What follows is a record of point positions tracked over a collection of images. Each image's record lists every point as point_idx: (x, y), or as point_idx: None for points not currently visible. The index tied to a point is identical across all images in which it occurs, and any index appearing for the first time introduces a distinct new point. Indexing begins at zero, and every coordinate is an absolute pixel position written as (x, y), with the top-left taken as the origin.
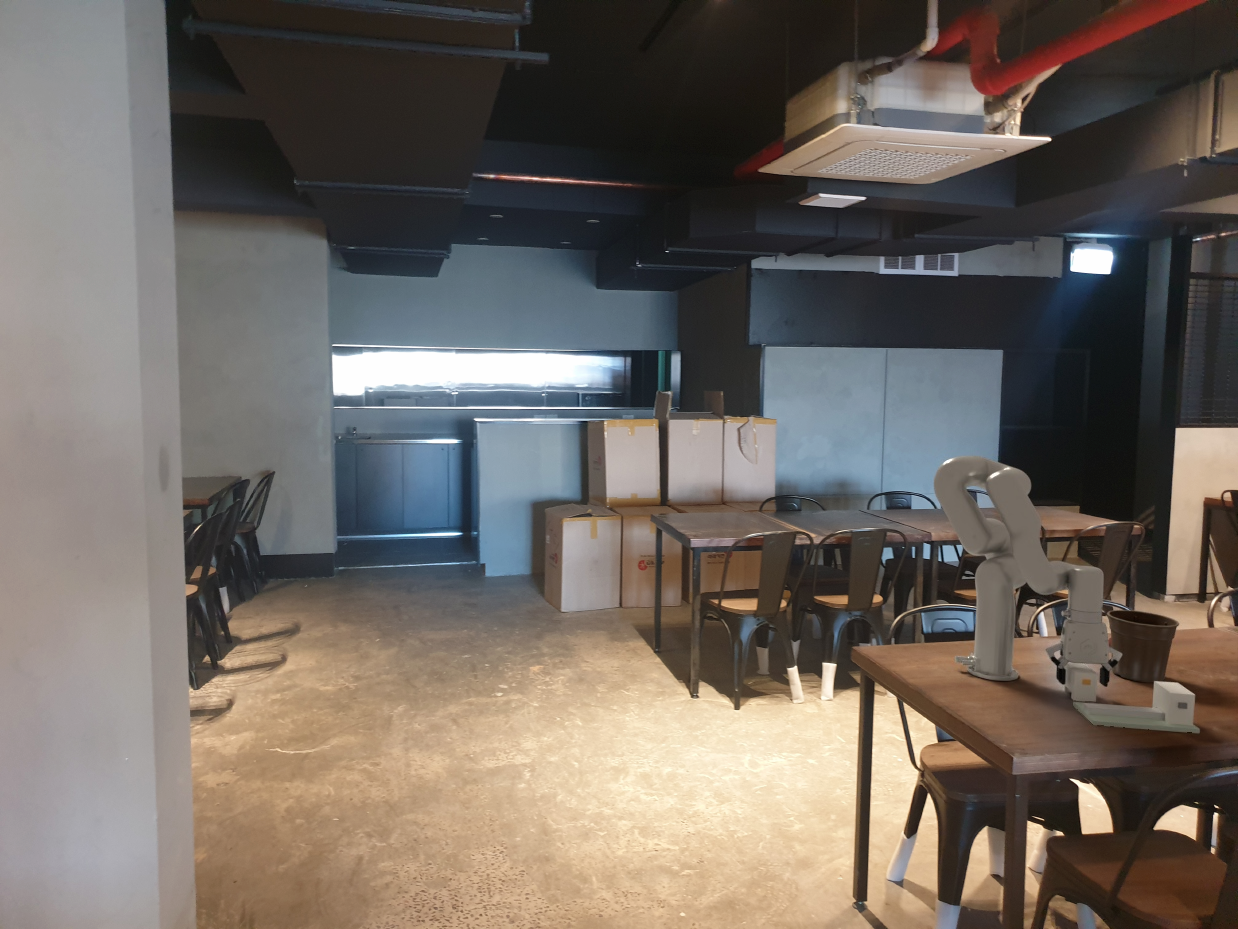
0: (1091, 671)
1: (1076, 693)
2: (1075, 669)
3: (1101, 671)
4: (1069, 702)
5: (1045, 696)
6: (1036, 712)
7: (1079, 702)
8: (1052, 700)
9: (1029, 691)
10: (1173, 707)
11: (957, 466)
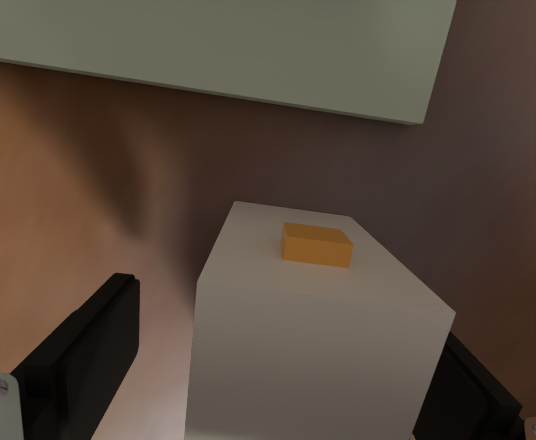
0: (229, 361)
1: (351, 228)
2: (384, 407)
3: (86, 413)
4: (392, 187)
5: (469, 268)
6: None
7: (390, 114)
8: (471, 211)
9: (504, 330)
10: None
11: None
